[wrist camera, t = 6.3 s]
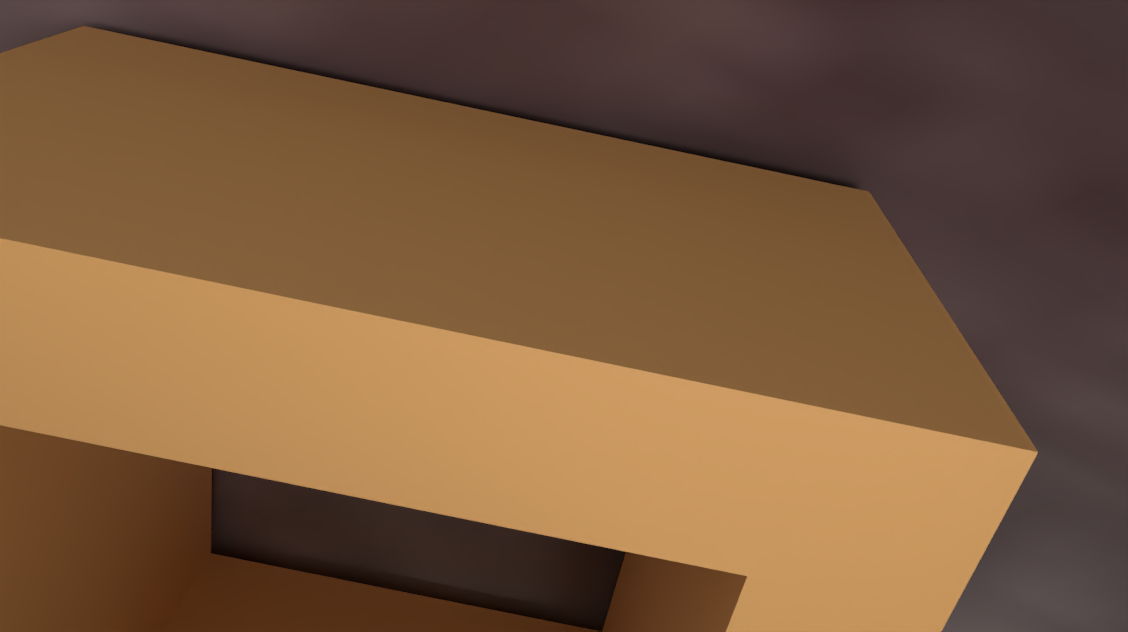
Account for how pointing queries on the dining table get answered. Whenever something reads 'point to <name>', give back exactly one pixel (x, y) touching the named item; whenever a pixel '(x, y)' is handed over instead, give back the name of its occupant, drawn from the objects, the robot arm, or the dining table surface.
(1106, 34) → the dining table surface
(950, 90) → the dining table surface
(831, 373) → the orange hollow square block
